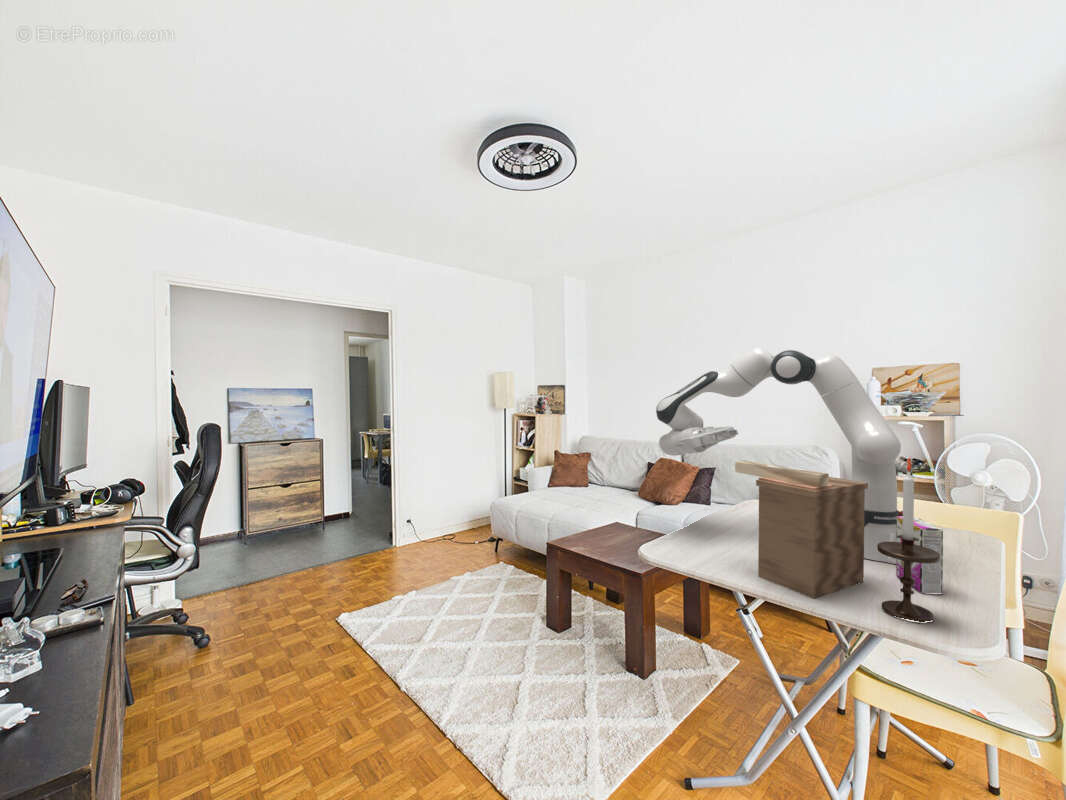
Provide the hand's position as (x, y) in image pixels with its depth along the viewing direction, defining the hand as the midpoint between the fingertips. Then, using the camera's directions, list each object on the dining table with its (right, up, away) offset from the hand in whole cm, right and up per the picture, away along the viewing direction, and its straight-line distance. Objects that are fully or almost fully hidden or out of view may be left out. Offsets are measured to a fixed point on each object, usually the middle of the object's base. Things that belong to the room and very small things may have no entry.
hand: (726, 434), depth 149 cm
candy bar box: (+36, -36, -31) cm, 60 cm away
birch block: (+3, -10, -25) cm, 27 cm away
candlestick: (+21, -37, -46) cm, 62 cm away
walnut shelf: (+11, -36, -27) cm, 46 cm away
